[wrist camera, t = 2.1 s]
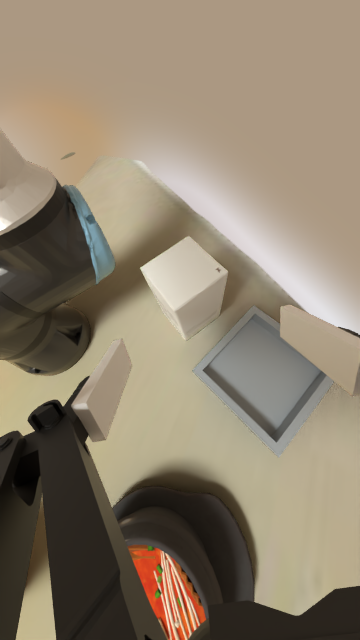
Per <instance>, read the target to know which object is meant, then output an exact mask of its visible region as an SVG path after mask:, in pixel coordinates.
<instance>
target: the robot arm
mask: <svg viewBox="0 0 360 640" xmlns="http://www.w3.org/2000/svg"><path fill="white" fill-rule="evenodd" d="M114 268H115V259H114V256H113V254H112V251H111V249H110V247H109V244H108V242H107V240H106V238H105V236H104V234H103V232H102V230H101V228H100V226H99V225H98V223H97V222H96V221H95V218H94V216H93V214H92V212H91V210H90V208H89V206H88V204H87V203H86V201H85V199H84V198H83V196H82V195H81V193H80V192H79V190H78V189H77V188H76V187H75V186H73V185H69V186H68V185H64V186H63V187H61V185H60V184H59V182H58V181H57V179H56V178H55V176H54V175H53V174H52V172H50V171H49V170H48V169H46V168H43V167H41V166H38V165H36V164H34V163H31V162H29V161H26V160H25V159H24V158H23V157H22V156H21V155H20V153H19V152H18V151H17V149H16V148H15V147H14V146H13V144H12V143H11V142H10V140H9V139H8V138H7V136H6V135H5V134H4V133H3V131H2V130H1V129H0V360H6V361H8V362H10V363H11V364H13V365H15V366H17V367H19V368H20V369H22V370H24V371H26V372H28V373H31V374H35V375H44V376H51V375H56V374H59V373H62V372H64V371H66V370H67V369H69V368H70V367H72V366H73V365H74V364H75V363H76V362H77V361H78V360H79V359H80V358H81V356H82V355H83V353H84V352H85V350H86V348H87V346H88V343H89V339H90V325H89V322H88V320H87V318H86V317H85V315H84V314H83V313H81V312H80V311H78V310H77V309H75V308H74V307H71V306H69V305H65V304H63V303H65V302H66V301H68V300H70V299H72V298H73V297H75V296H77V295H78V294H80V293H82V292H83V291H85V290H87V289H88V288H90V287H92V286H93V285H97V284H98V283H99V281H101V280H102V279H104V278H105V277H107V276H108V275H109V274H111V273H112V272H113V270H114ZM280 337H281V338H283V339H284V340H285V341H286V342H287V343H289V344H290V345H291V346H292V347H294V348H295V349H296V350H297V351H298V352H300V353H301V354H302V355H303V356H304V357H306V358H307V359H308V360H309V361H310V362H312V363H313V364H314V365H315V366H316V367H318V368H319V369H320V370H321V371H322V372H324V373H325V374H326V375H327V376H329V377H330V378H331V379H332V380H333V381H335V382H336V383H337V384H338V385H339V386H341V387H342V388H343V389H344V390H345V391H347V392H348V393H349V394H350V395H351V396H356V395H360V335H358V333H355V332H353V331H351V330H349V329H345V328H341V327H335V326H334V325H332V324H330V323H327V322H325V321H323V320H321V319H319V318H317V317H315V316H313V315H311V314H309V313H307V312H305V311H303V310H301V309H298V308H296V307H294V306H292V305H285V306H280ZM131 368H132V363H131V360H130V358H129V355H128V352H127V350H126V347H125V344H124V342H123V339H118V340H113V342H112V344H111V345H110V347H109V348H108V350H107V351H106V353H105V354H104V356H103V357H102V359H101V360H100V362H99V363H98V365H97V366H96V368H95V369H94V371H93V373H92V374H91V376H88V377H86V378H85V379H84V380H83V381H82V382H80V384H79V385H78V387H77V388H76V390H75V391H74V392H73V395H71V397H70V398H69V400H68V401H67V402H66V404H65V405H64V407H63V406H62V405H61V403H60V402H59V401H58V400H51V401H48V402H46V403H44V404H42V405H41V406H39V407H38V408H36V409H35V410H34V411H33V412H32V413H31V414H30V416H29V417H28V422H29V423H30V425H31V426H32V427H33V429H34V430H35V432H32V433H30V434H28V435H25V436H22V434H21V433H20V432H19V431H13V432H10V433H7V434H6V435H4V436H2V437H0V640H15V639H16V634H17V628H18V623H19V617H20V612H21V606H22V601H23V595H24V590H25V584H26V579H27V573H28V568H29V563H30V557H31V552H32V546H33V541H34V535H35V530H36V524H37V519H38V513H39V508H40V502H41V497H42V494H43V505H44V515H45V525H46V536H47V546H48V557H49V567H50V578H51V588H52V599H53V609H54V620H55V630H56V640H167V638H166V636H165V633H164V631H163V629H162V627H161V625H160V622H159V620H158V618H157V617H156V615H155V613H154V611H153V609H152V607H151V604H150V602H149V600H148V597H147V595H146V592H145V590H144V587H143V585H142V582H141V580H140V577H139V575H138V572H137V570H136V567H135V565H134V562H133V560H132V557H131V555H130V552H129V550H128V547H127V544H126V542H125V539H124V537H123V534H122V532H121V529H120V527H119V524H118V522H117V519H116V517H115V514H114V512H113V509H112V507H111V504H110V502H109V499H108V497H107V494H106V492H105V489H104V487H103V484H102V482H101V479H100V477H99V474H98V472H97V469H96V467H95V464H94V462H93V459H92V457H91V454H90V452H89V449H88V446H87V445H86V443H85V441H86V439H87V437H88V435H89V437H90V439H91V440H92V442H96V441H102V440H106V438H107V436H108V433H109V430H110V427H111V424H112V422H113V419H114V416H115V413H116V410H117V407H118V405H119V402H120V399H121V396H122V393H123V390H124V388H125V385H126V382H127V379H128V376H129V374H130V371H131ZM208 614H209V618H208V619H207V620H205V621H204V622H203V623H201V625H200V626H199V627H198V628H197V629H196V630H195V631H194V632H193V633H192V635H191V636H190V637H189V639H188V640H360V586H356V587H348V588H340V589H334V590H333V591H332V592H331V593H329V594H328V595H327V596H325V597H324V598H323V599H321V600H320V601H319V602H317V603H316V604H315V605H314V606H312V607H311V608H310V609H308V610H307V611H306V612H304V613H303V614H302V615H299V616H295V615H291V614H288V613H285V612H282V611H279V610H276V609H273V608H270V607H267V606H264V605H261V604H258V603H255V602H252V601H249V600H245V601H238V602H230V603H222V604H214V605H208Z"/></svg>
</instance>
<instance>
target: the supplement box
mask: <svg viewBox="0 0 360 640" xmlns="http://www.w3.org/2000/svg"><path fill="white" fill-rule="evenodd" d="M140 269H141V271H142V273H143V275H144V277H145V279H146V281H147V283H148V285H149V287H150V288H151V290H152V292H153V294H154V296H155V298H156V300H157V302H158V304H159V306H160V308H161V310H162V312H163V313H164V314H165V316H166V317H167V318H168V319H169V321H170V322H171V323H172V324H173V326H174V327H175V328H176V329H177V331H178V332H179V333H180V335H181V336H182V337H183V338H184V340H185V341H187V340H188V339H190V338H191V337H192V336H194V335H195V334H196V333H198V332H199V331H200V330H202V329H203V328H204V327H206V326H207V325H208V324H210V323H211V322H212V321H214V320H215V319H216V318H218V317H219V316H220V311H221V306H222V301H223V296H224V291H225V287H226V282H227V277H228V271H227V270H226V269H225V268H224V267H223V266H222V265H220V264H219V263H218V262H217V261H216V260H215V259H214V258H212V257H211V256H210V255H209V254H208V253H207V252H206V251H205V250H204V249H203V248H202V247H201V246H199V245H198V244H197V243H196V242H195V241H194V240H193V239H192V238H191V237H189V236H187V237H186V238H184V239H183V240H181V241H180V242H178V243H177V244H175V245H174V246H172V247H171V248H169V249H168V250H166V251H165V252H163V253H162V254H160V255H159V256H157V257H156V258H154V259H153V260H151V261H150V262H148V263H146V264H145V265H143V266H142V267H140Z"/></svg>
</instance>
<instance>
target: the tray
mask: <svg viewBox="0 0 360 640" xmlns="http://www.w3.org/2000/svg"><path fill="white" fill-rule="evenodd" d="M192 371H193V373H194V374H195V375H196V376H197V377H198V378H199V379H200V380H201V381H202V382H203V383H204V384H205V385H206V386H207V387H208V388H209V389H210V390H211V391H212V392H213V393H214V394H215V395H216V396H217V397H218V398H219V399H220V400H221V401H222V402H223V403H224V404H225V405H226V406H227V407H228V408H229V409H230V410H231V411H232V412H233V413H234V414H235V415H236V416H237V417H238V418H239V419H240V420H241V421H242V422H243V423H244V424H245V425H246V426H247V427H248V428H249V429H250V430H251V431H252V432H253V433H254V434H255V435H256V436H257V437H258V438H259V439H260V440H261V441H262V442H263V443H264V444H265V445H266V446H267V447H268V448H269V449H270V450H271V451H272V452H273V453H274V454H275V455H277V456H278V457H280V455H281V454H282V453H283V451H284V450H285V449H286V447H287V446H288V444H289V443H290V442H291V440H292V439H293V438H294V436H295V435H296V433H297V432H298V431H299V429H300V428H301V427H302V425H303V424H304V422H305V421H306V420H307V418H308V417H309V416H310V414H311V413H312V412H313V410H314V409H315V407H316V406H317V405H318V403H319V402H320V401H321V399H322V398H323V396H324V395H325V394H326V392H327V391H328V390H329V388H330V387H331V385H332V384H333V383H334V381H333V380H332V379H331V378H330V377H329V376H327V375H326V374H325V373H324V372H322V371H321V370H320V369H319V368H318V367H316V366H315V365H314V364H313V363H312V362H310V361H309V360H308V359H307V358H306V357H304V356H303V355H302V354H301V353H300V352H298V351H297V350H296V349H295V348H294V347H292V346H291V345H290V344H289V343H287V342H286V341H285V340H284V339H283V338H281V337H280V324H279V323H278V322H277V321H275V320H274V319H272V318H271V317H270V316H268V315H267V314H265V313H264V312H263V311H261V310H260V309H259V308H257V307H256V306H254V305H253V306H252V307H251V308H250V309H249V310H248V312H247V313H246V314H245V315H244V316H243V317H242V318H241V319H240V320H239V321H238V322H237V323H236V324H235V325H234V326H233V328H232V329H231V330H230V331H229V332H228V333H227V334H226V335H225V336H224V337H223V338H222V339H221V340H220V341H219V342H218V343H217V345H216V346H215V347H214V348H213V349H212V350H211V351H210V352H209V353H208V354H207V355H206V356H205V357H204V358H203V359H202V361H201V362H200V363H199V364H198V365H197V366H196V367H195V368H194V369H193V370H192Z"/></svg>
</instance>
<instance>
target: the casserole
mask: <svg viewBox="0 0 360 640" xmlns="http://www.w3.org/2000/svg"><path fill="white" fill-rule="evenodd" d="M112 509H113V512H114V514H115V517H116V519H117V522H118V524H119V527H120V529H121V532H122V534H123V537H124V539H125V542H126V544H127V547H128V550H129V552H130V555H131V557H132V560H133V562H134V565H135V567H136V570H137V572H138V575H139V577H140V580H141V582H142V585H143V587H144V590H145V592H146V595H147V597H148V600H149V602H150V604H151V607H152V609H153V611H154V613H155V615H156V617H157V618H158V620H159V622H160V625H161V627H162V629H163V631H164V633H165V636H166V638H167V640H188V639H189V637H190V636H191V635H192V633H193V632H194V631H195V630H196V629H197V628H198V627H199V626H200V625H201V623H203V622H204V621H205V620H207V619H208V618H209V614H208V605H214V604H222V603H230V602H238V601H245V600H249V601H252V602H254V575H253V568H252V562H251V558H250V554H249V551H248V547H247V544H246V540H245V538H244V536H243V534H242V531H241V529H240V527H239V525H238V523H237V521H236V519H235V518H234V516H233V515H232V513H231V511H230V510H229V508H228V507H227V506H226V505H225V504H224V503H223V502H222V501H221V500H220V499H219V498H218V497H216V496H214V495H212V494H210V493H185V492H181V491H177V490H174V489H170V488H166V487H162V486H148V487H145V488H141V489H137V490H135V491H133V492H132V493H130V494H128V495H126V496H125V497H124V498H122V499H121V500H120V501H119V502H118V503H117V504H116V505H115V506H114V507H113V508H112Z"/></svg>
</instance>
